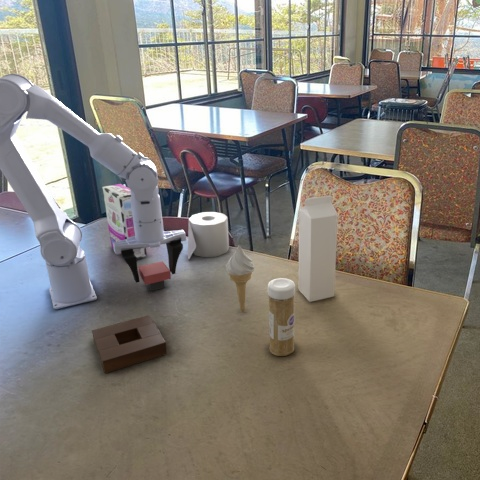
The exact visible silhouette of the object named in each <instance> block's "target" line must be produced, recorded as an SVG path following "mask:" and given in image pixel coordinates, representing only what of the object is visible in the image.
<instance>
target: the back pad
mask: <svg viewBox="0 0 480 480" xmlns="http://www.w3.org/2000/svg"><path fill="white" fill-rule="evenodd" d="M137 270H138V275H139V278H141V280H142V281H143V283H144V285H145V286H146V285H147V287H148V288H149V290H150V291H151V292H152V291H156V290H161V289H165V288H166V283H165V281H168V280H172V277H171V276H172V273H171V272H170V269H169V266H168V265H167V264H166V263H165V262H164V261H163V260H162V261H158V262H153V263H152V262H151V263H149V264H143V265H137Z"/></svg>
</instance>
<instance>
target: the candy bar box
mask: <svg viewBox="0 0 480 480" xmlns="http://www.w3.org/2000/svg"><path fill="white" fill-rule="evenodd" d="M101 188H102V193H103V194H102V195H103V201H104V207H105V213H106V220H107V226H108V233H109V234H108V235H109V240H110V245H111V246H110V247H111V249H113V250H114V248H113V243H114V242H119V241H122V240H125V239H128V238H131V237H134V236H135V230H134V223H133V216H132V209H131V202H130V197H131V192H130V188H129V187H128V186H127V185H124V184H122V183H117V184H116V183H115V184H112V185H105V186H102V187H101ZM133 251H134V253H135V256H136V257H137V260H140V259H143V258H146V257H148V254H147V247H146V248H141V249H135V250H133Z"/></svg>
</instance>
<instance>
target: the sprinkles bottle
mask: <svg viewBox="0 0 480 480" xmlns="http://www.w3.org/2000/svg"><path fill="white" fill-rule="evenodd" d="M295 294H296V285H295V282H294V280H293V279H292V280H291V279H290V278H285V277H278V278H274V279H272V280H270V281H269V282H268V283H267V296H268V328H269V329H268V331H269V334H268V335H269V352H270V353H271V354H273V355H274V356H278V357H286V356H289V355H291V354H292V353H293V352H294V351H295V342H294V341H295Z"/></svg>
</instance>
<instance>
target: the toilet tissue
mask: <svg viewBox="0 0 480 480" xmlns="http://www.w3.org/2000/svg"><path fill="white" fill-rule="evenodd" d="M228 217H229V216H227V215H226V214H224V213H223V212H216V211H202V212H198V213H195V214H192V215H191V216H190V217H189V218H188V226H187V227H188V229H187V230H188V231H187V259H188V261H189V260H190V259H191V257H192V255H194V256H198V257H202V258H213V257H214V258H215V257H219V256H222V255H224V254H227V252H228V251H229V249H230V238H229V237H230V236H229V220H228V219H229V218H228Z"/></svg>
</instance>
